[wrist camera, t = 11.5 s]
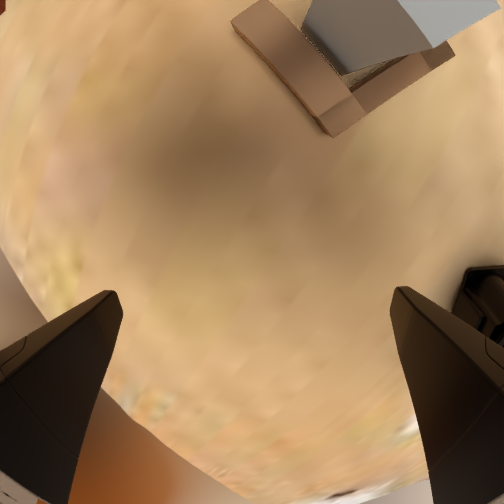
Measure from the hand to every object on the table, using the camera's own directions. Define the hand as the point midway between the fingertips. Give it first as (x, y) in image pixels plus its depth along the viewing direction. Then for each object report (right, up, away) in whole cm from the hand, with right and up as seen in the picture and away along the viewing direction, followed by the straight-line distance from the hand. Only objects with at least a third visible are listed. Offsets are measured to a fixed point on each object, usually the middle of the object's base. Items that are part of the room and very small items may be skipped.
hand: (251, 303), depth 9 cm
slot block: (+6, +15, +6) cm, 17 cm away
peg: (+6, +15, +6) cm, 17 cm away
